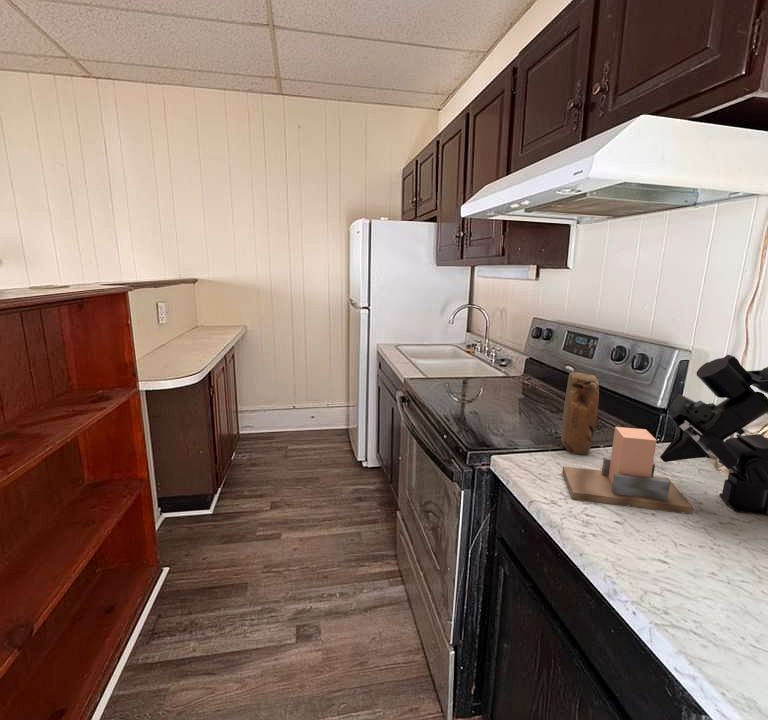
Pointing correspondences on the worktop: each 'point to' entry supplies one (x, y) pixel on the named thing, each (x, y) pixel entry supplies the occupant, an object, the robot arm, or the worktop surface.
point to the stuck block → (632, 452)
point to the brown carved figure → (580, 412)
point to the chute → (625, 489)
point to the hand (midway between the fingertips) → (662, 459)
